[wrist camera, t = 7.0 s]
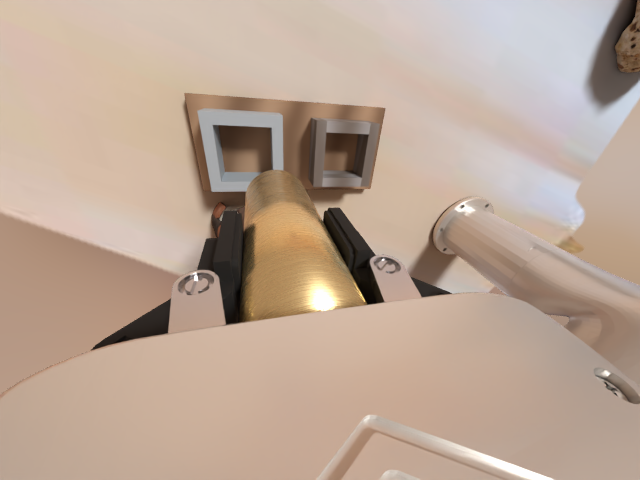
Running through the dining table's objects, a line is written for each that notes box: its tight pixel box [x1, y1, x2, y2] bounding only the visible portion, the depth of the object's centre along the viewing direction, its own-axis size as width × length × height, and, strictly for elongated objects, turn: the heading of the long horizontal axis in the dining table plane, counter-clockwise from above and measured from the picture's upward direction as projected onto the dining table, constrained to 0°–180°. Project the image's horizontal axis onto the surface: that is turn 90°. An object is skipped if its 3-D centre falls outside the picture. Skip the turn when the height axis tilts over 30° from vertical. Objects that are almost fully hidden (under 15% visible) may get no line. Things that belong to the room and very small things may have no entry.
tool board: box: [184, 93, 385, 191], centre depth 30 cm, size 24×11×5 cm, turn 86°
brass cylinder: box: [239, 170, 367, 323], centre depth 11 cm, size 4×4×12 cm
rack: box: [197, 108, 283, 192], centre depth 28 cm, size 8×8×4 cm
